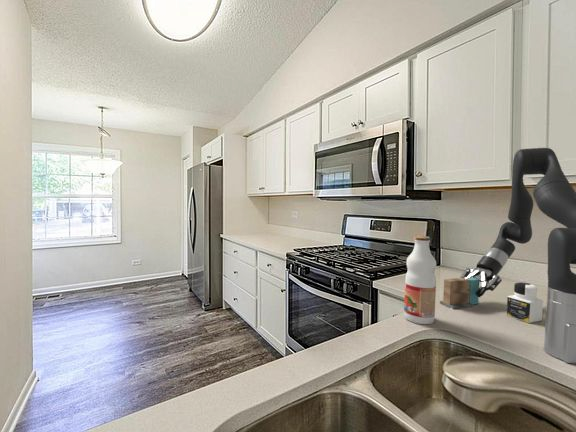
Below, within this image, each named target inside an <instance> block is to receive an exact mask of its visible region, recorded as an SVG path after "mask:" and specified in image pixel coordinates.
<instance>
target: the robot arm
mask: <svg viewBox="0 0 576 432" xmlns="http://www.w3.org/2000/svg"><path fill="white" fill-rule="evenodd" d="M511 170H512V175H511V198H510V204H509V210H508V213H507V219H508V220H509V221H507V222H504V223H502V225H501V226H500V228H499V231H498V235H497V237H496V240H494V241H495V242H494V243H493V244H492V246H491V247H490V248H489V249H488V250H487V251H486V252H485V253H484V254H483V256H482V257H480V258H481V259H479V261H478V262H477V263H476V267H474V269H470V267H466V268H465V269H464V271H463V272H462V274H461V275H460V277H459V278H476V279H479V280H480V282H479V283H481V286H479V289H478V290H477V292H476V293H475V294H476V295H477V297H479V298H481V297H482V296H484V294H485V293H486V292H487V291H491V292H493V291H494V290H495V289H496V288H497V287H498V286H499V284H501V283H502V278H501V277H500V276H499V273H500V272H501V270H502V269H503V267H504V266H505V265H506V264H507V262H508V260H509V259H510V257H511V256H512V255H513V253H514V252H515V250H516V246H515V244H513V242H516V243H518V244H522V245H523V244H527V243H528V242H530V240H531V239H532V238H533V237H532V236H533V228H532V222H531V218H532V214H533V209H534V201H535V204H536V206H537V208H538V209H539V210H540V212H542V214H544V215H545V216H546V217H548V218H550V219H551V220H554V221H556V222H557V223H559V224H561V225H562V226H565V227H556V228H555V227H554V228H553V229H551V231H550V233H549V235H548V239H547V295H546V296H547V297H546V307H545V326H544V343H543V350H544V351H545V352H546V353H547V354H549V356H552V357H554V358H557V359H559V360H561V361H563V362H565V363H566V364H576V273H575V272H573V271H572V269H571V265H576V190H575V189H574V187H573V186H572V184H571V183H570V182H569V180H568V178H567V177H566V175H565V173H564V171H563V169H562V167H561V165H560V162H559V159H558V157H557V154H556V152H555V151H554V150H553V149H552V148H550V147H534V148H522V149H518V150H517V151H516V152H515V153H514V157H513V159H512V169H511ZM526 175H528V176H529V175H530V176H531V175H543V176H542V178H540V179H539V181H538V182H537V183H536V184H535V186H534V189H533V191H532V195H531V194H530V192H529V191H528V189H527V187H526V185H525V182H524V176H526ZM532 196H533V197H532ZM533 199H534V200H533ZM511 241H512V242H511Z"/></svg>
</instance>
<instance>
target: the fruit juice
mask: <svg viewBox="0 0 576 432" xmlns="http://www.w3.org/2000/svg"><path fill="white" fill-rule="evenodd" d="M413 241H414V246H413V250H412V252H411V253H410V254H409V255H408V256H407V257H406V263H405V264H406V268H407V270H406V271H407V272H406V274H405V280H404V302H403V303H404V306H403V316H404V318H405V319H406V321H409V322H411V323H414V324H417V325H431V324H433V323H434V322H435V319H436V317H435V315H436V291H437V277H436V274H435V272H436V269H437V260H436V259H435V257H434V256H433V255H432V253H431V249H430V242H431V237H430V236H425V235H415V236H414V237H413Z"/></svg>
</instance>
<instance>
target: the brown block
mask: <svg viewBox="0 0 576 432" xmlns="http://www.w3.org/2000/svg"><path fill="white" fill-rule="evenodd" d="M469 293H470V280H469V279H466V278H460V277H458V278H445V279H443V293H442V294H443V295H442V296H443V297H442V298H443V299H442V300H440V301H439V304H440V305H443V306H445V307H446V308H450V309H451V308H452V310H455V309H456V310H457V309H465V308H472V307H473V304H471V303H469Z"/></svg>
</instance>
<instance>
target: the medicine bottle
mask: <svg viewBox="0 0 576 432" xmlns="http://www.w3.org/2000/svg"><path fill="white" fill-rule="evenodd" d="M513 287H514V289H513V293H514V294H512V295H508V296H507V298H506V299H507V300H506V316H507V317H510V318H512V319H515V320H518V321H521V322H525V323H527V324H531V323H537V322H541V321H542V320H543V307H544V300H543V299H539V298H537V296H538V294H537V293H538V287H537V286H536V285H534V284H531V283H527V282H516V283H515V284H514V286H513Z"/></svg>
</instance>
